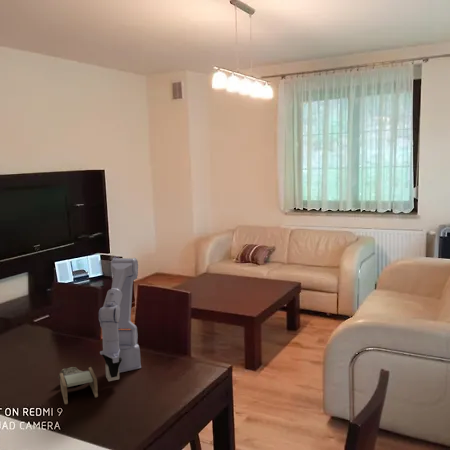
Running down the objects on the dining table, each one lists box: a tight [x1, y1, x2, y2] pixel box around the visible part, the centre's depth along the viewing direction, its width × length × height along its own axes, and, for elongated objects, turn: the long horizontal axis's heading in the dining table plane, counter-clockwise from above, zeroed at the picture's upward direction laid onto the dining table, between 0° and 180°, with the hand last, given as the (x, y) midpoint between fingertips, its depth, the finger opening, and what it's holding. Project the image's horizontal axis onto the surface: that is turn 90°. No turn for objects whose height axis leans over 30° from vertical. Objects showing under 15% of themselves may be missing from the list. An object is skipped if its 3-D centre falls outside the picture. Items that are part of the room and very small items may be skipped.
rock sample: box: [57, 366, 83, 380], centre depth 173 cm, size 10×8×9 cm
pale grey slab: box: [64, 370, 93, 388], centre depth 165 cm, size 8×10×3 cm
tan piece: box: [59, 366, 99, 405], centre depth 164 cm, size 11×11×6 cm
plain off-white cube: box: [105, 363, 120, 382], centre depth 169 cm, size 4×4×5 cm
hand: (112, 374), depth 169 cm, fingers closed on plain off-white cube, 4 cm apart
